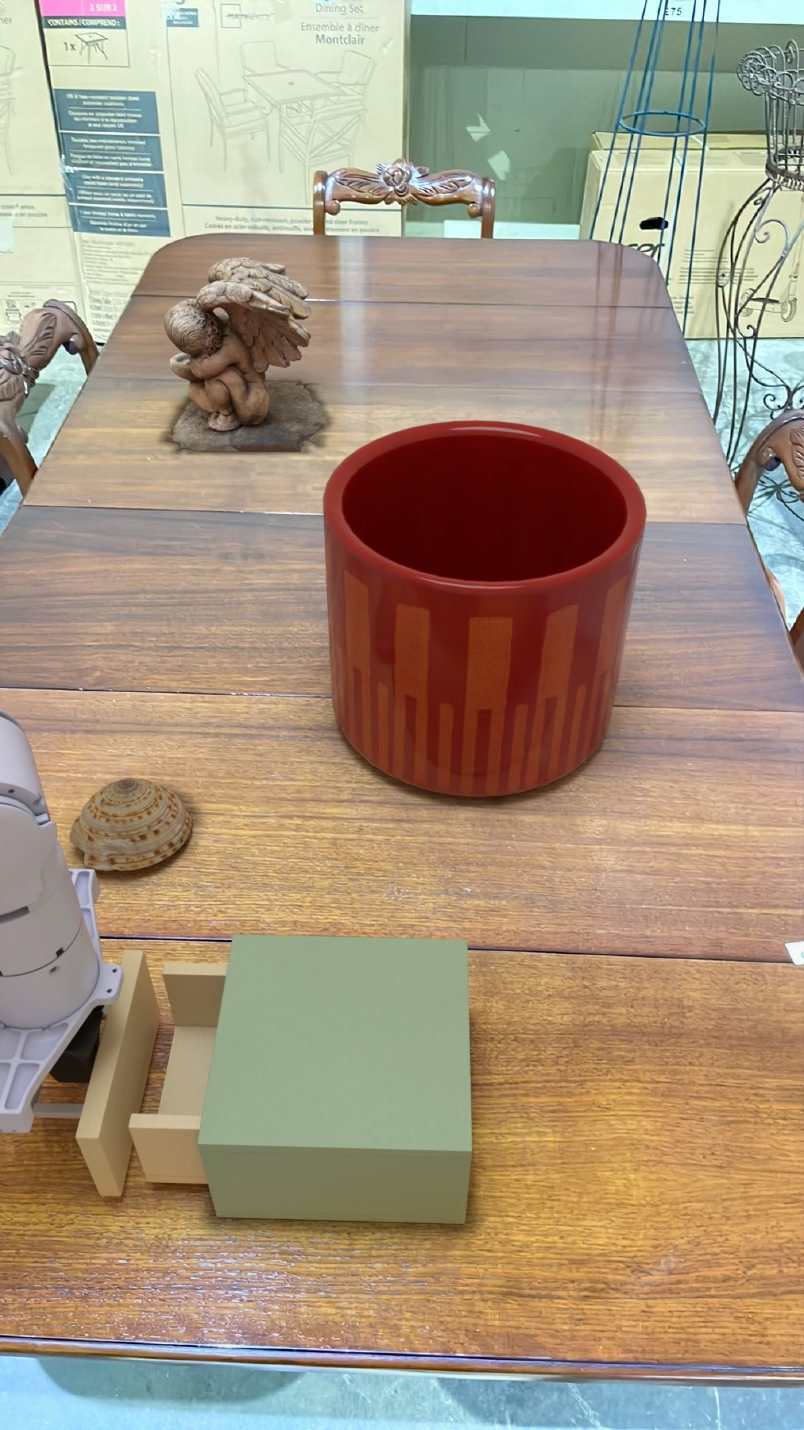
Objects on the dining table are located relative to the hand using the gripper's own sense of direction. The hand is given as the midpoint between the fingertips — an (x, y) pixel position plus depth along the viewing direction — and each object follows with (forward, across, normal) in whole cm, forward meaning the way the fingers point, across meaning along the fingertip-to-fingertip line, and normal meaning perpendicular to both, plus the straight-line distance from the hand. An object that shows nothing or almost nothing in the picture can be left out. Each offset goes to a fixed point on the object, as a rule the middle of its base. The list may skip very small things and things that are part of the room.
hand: (77, 1071), depth 61 cm
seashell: (+4, +21, +2) cm, 21 cm away
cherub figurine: (+4, +87, +2) cm, 87 cm away
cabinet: (+4, 0, -15) cm, 16 cm away
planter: (+4, +36, -23) cm, 43 cm away
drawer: (+3, 0, -6) cm, 6 cm away
